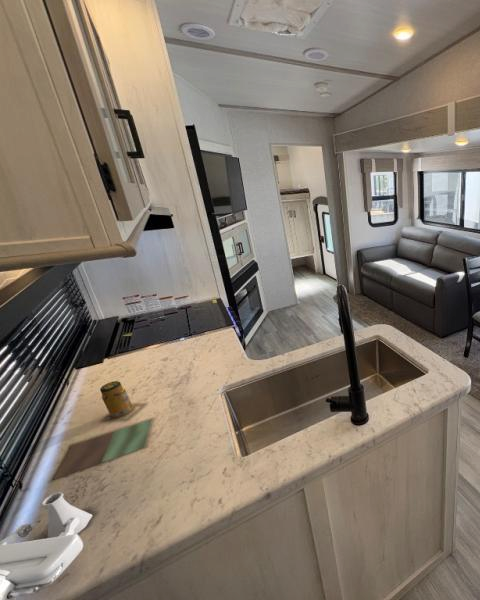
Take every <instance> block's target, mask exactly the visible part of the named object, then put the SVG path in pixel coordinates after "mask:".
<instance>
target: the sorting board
mask: <svg viewBox="0 0 480 600" xmlns="http://www.w3.org/2000/svg"><path fill="white" fill-rule="evenodd" d="M151 423H152V419H148V420H146V421H142V422H138V423H136V424H132V425H130V426H127V427H124V428H120V429H118V430H114V431H111V432H109V433H105V434H103V435H99V436H96V437H93V438H90V439H87V440H83V441H80V442H77V443H74V444H71V446H70V448H69V450H68V452H67V454H66V455H65V458H64V459H63V461H62V462H61V464H60V466H59V468H58V470H57V472H56V474H55V475H54V478H53V481H55V480H57V479H60V478H62V477H63V478H64V477H66V476H68V475H69V476H70V475H72V474H74V473H77V472H80V471H83V470H86V469H88V468H89V469H90V468H92V467H94V466H97V465H100V464H102V463H106V462H108V461H111V460H113V459H117V458H119V457H122V456H125V455H128V454H131V453H133V452H136V451H139V450H142V449H144V448H145V447H146V444H147V440H148V435H149V431H150V428H151Z"/></svg>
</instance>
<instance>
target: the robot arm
mask: <svg viewBox="0 0 480 600" xmlns="http://www.w3.org/2000/svg"><path fill="white" fill-rule="evenodd" d="M79 523H80V520H79V518H78V517H74V518H69V519H68V520H67V522H66V523H65V524H64V525H63V526H64V527H65V532H62V533H61V534H60V535H59V536H58V537H53V538H47V537H46V538H40V539H39V538H38V539H34V540H27V541H20V540H21V539H23V538H26V537H27V536H28V535H29V533H31V532H32V531H33V529H34V527H33V526H32V524H31V523H29V524H21V525H20V526H19V527H18V528H16V530H15V531H14V532H12V533H11V534H9V535H7V536H6V537H4V538H2V539H1V540H0V600H17V599H18V598H19V597H22V596H25V595H34V594H37V593H39V592H40V591H41V590H43V589H45V588H46V587H48V586H50V585H51V584H53V583H54V582H55V581H56V580H57V579H58V578H59V577H60V576H61V574H63V572H64V571H66V569H67V568H68V567H69V566H70V565H71V564H72V562H73V561H75V559H76V558H77V557H78V556H79V554H80V553H81V552H82V550H83V549H84V542H83V540H82V538H81V536H80V535H79V534H78V533H77V534H74V529H75V528H76V527H77V525H78V524H79ZM18 541H19V542H18Z"/></svg>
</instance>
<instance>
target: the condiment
mask: <svg viewBox="0 0 480 600" xmlns="http://www.w3.org/2000/svg"><path fill="white" fill-rule="evenodd" d="M99 391H100V393H101V399H102V401H103V403H104V405H105V407H106V409H107V412H108V413H109V415H110V417H111V418H112V419H119V418H122V417H125V416H127V415H129V414H130V413H132V411H133V410H134V405H133V404H132V402H131V400H130V397H129V395H128V392H127V391H126V388H125V387H123V385H122V383H121V382H120V381H118V380H114V381H110V382H107V383H105V384H104V385H102V386H101V387H100V389H99Z"/></svg>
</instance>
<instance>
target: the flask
mask: <svg viewBox="0 0 480 600" xmlns="http://www.w3.org/2000/svg"><path fill="white" fill-rule="evenodd" d="M40 505H41V506H42V507H44V508H46V511H47V515H48V527H47V537H46V538H53V537H58V536H59V535H60V534H61V533H62V532H65V527H64V526H63V525H64V524H65V523H66V522H67V520H68V519H69V518H74V517H78V518H79V520H80V523H79V524H78V525H77V527H76V528H75V529H74V534H77V535H78V534H79V533H80V532H82V531H83V529H85V528H86V527H87V525H88V524H89V522H90V520H91V519H92V517H93V514H91V513H89V512H87V511H85V510H83V509H81V508H78V507H76V506H74V505H72V504H70V503H69V502H67V500H65V498H64V493H63V492H61V491H57V492H53V493H51V494H50V495H48V496H47V497H45V498H44V499H43V501H42V502H41V503H40Z"/></svg>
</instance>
